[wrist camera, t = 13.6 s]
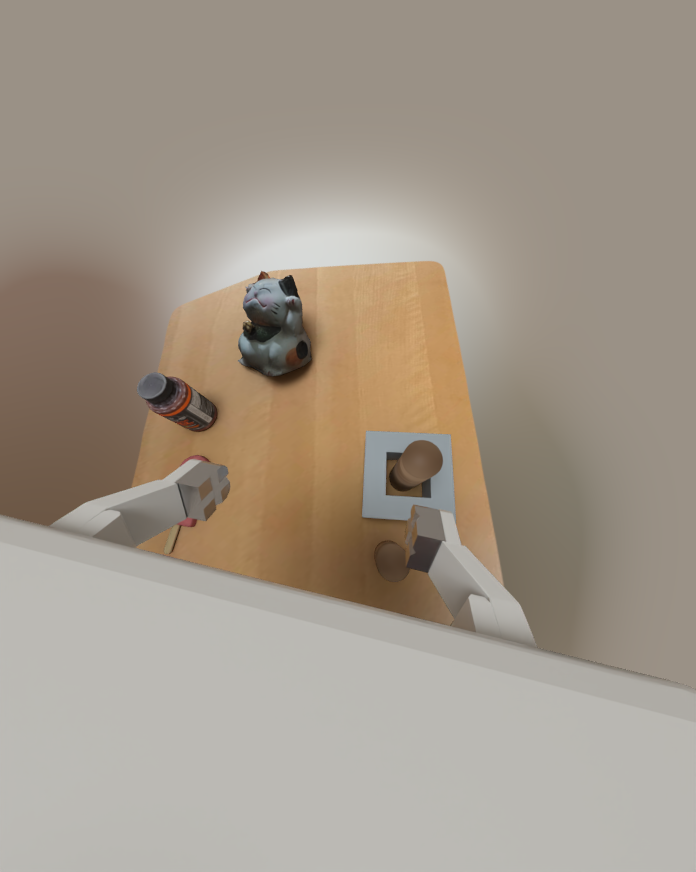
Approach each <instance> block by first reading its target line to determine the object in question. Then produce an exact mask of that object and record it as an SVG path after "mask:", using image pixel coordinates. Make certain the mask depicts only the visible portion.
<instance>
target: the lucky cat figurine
mask: <svg viewBox="0 0 696 872" xmlns="http://www.w3.org/2000/svg"><path fill="white" fill-rule="evenodd" d="M246 291H247V294H246V296H245V298H244V301H243V309H244V310H245V312H246V314H247V317H248V318H249V319H250V320H251V321H252V322H249V321H245V322H243V330H244V332H243V333H242V334H241V336H240V338H239V343H238V347H239V350H240V351H241V354H242V356H243V357H242V358H241V359H240V360H238V361H239V362H240V363H241V364H242V365H244V366H249V367H252V368H255V369H256V370H258V371H259V372H261V373H262V374H264V375H267V376H279V375H282V374H285V373H288V372H291V371H293V370H295V369H298V368H300V367H303V366H305V365H306V364H307V363H308V362H309V361H310V360H311V359H312V358H311V352H310V346H311V342H310V339H309V338H308V336H307V334H306V332H305V330H304V328H303V326H302V303H301V300H300V297H299V295H298V293H297V288H296V285H295V282H294V279H293V277H292V275H289V276H287V277H285V278H284V279H276V278H270V277H269V276H268V274H267V273H265V272H262V271H261V273H260V275H259V278H258V281H257V282H256V283H253V284H249V286H248V287H246Z"/></svg>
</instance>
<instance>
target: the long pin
mask: <svg viewBox="0 0 696 872" xmlns="http://www.w3.org/2000/svg"><path fill="white" fill-rule="evenodd" d="M442 465H443V456H442V453H441V451H440V450H439V448H438V447H437V446H436V445H435V444H433V443H432V442H429V441H426V440H417V441H414V442H412V443H411V444H409V445H408V446H407V448H406V449H405V451H404V452H403V454H402V455H401V457H400V458H399V460H398V461H397V463H396V465H395V466H394V468H393V469H392V471H391V472H390V476H389V480H390V483H391V485H392V486H393V487H394V488H395V489H396V490H398V491H408V490H410V489H411V488H413V487H415V486H417V485H418V484H420V483H422V482H424V481H426V480H427V479H429V478H431V477H433V476H434V475H436V474H437V473H438V472H439V471H440V470H441V468H442Z"/></svg>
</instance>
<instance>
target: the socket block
mask: <svg viewBox="0 0 696 872" xmlns="http://www.w3.org/2000/svg"><path fill="white" fill-rule="evenodd" d="M417 440H426V441H429V442H432V443H433V444H435V445H436V446H437V447H438V448H439V450H440V451H441V453H442V456H443V465H442V468H441V470H440V471H439V472H438V473H437V474H436V475H434V476H433V477H431V478H429V479H427V480H426V481H424V482H422V496H423V498H421V497H405V496H389V495H386V460H399V458H400V457H401V455H402V454H403V452H404V451H405V449H406V448H407V446H408V445H409V444H411V443H412V442H414V441H417ZM413 504H414V505H419V506H424V507H429V508H434V509H441V510H446V511H451V512H452V513H453V516H454V520H455V523H456V514H455V498H454V482H453V466H452V450H451V435H448V434H426V433H403V432H380V431H366V444H365V466H364V488H363V510H362V517H366V518H380V519H395V520H408V519H409V518H411V512H410V511H411V508H412V506H413Z"/></svg>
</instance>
